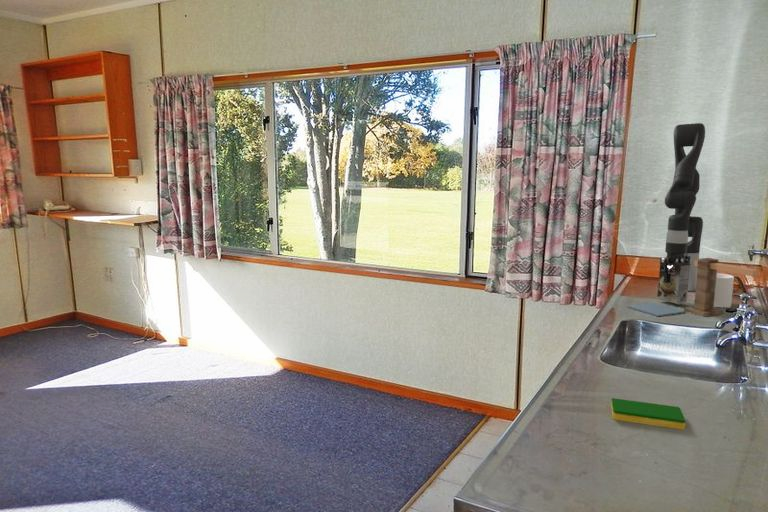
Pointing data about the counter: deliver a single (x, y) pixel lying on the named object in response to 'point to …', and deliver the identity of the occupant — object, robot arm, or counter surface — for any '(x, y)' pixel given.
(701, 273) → the guide stand
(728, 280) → the cup
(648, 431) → the counter surface
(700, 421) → the counter surface
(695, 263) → the bar
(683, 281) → the coffee box
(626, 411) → the dish sponge
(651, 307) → the rubber mat
